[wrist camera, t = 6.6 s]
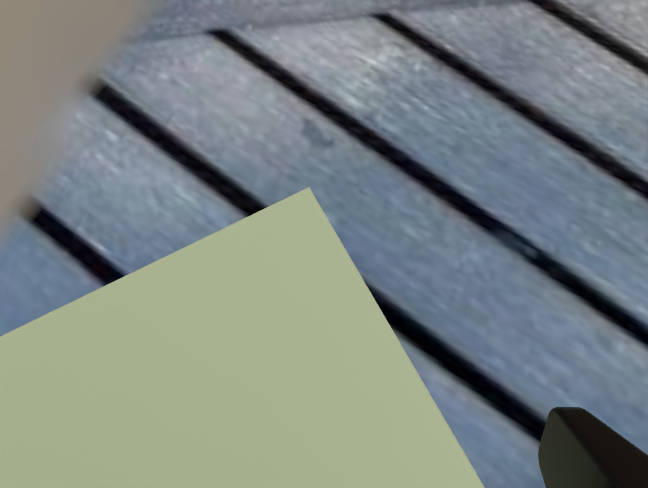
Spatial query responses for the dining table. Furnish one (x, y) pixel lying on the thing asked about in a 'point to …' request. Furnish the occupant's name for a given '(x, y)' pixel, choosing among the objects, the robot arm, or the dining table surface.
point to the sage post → (225, 375)
